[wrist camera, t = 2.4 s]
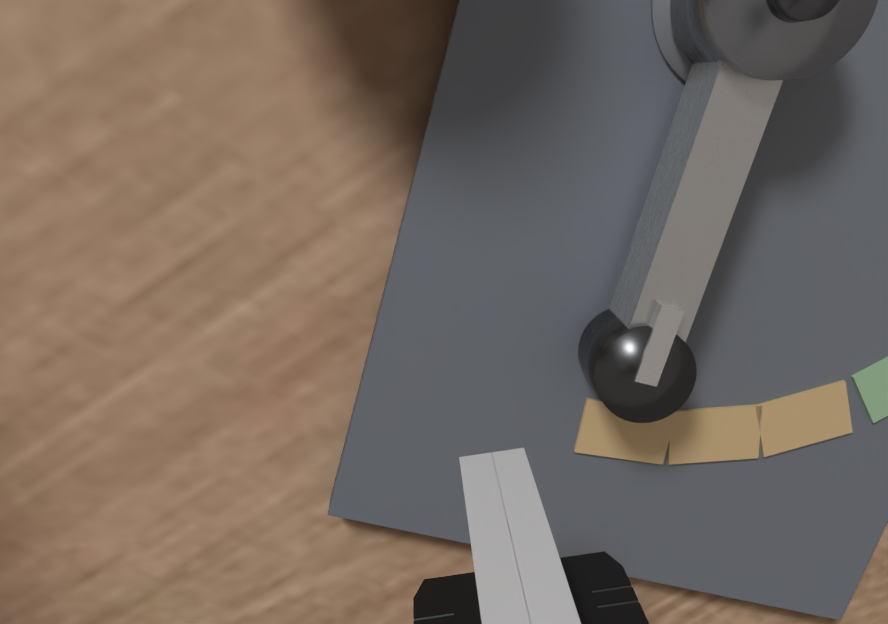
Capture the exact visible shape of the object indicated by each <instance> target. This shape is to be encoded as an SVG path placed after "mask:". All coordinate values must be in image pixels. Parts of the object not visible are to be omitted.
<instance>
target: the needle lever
mask: <svg viewBox="0 0 888 624" xmlns="http://www.w3.org/2000/svg"><path fill="white" fill-rule="evenodd" d="M877 3H878V0H671V1H670V16H671V24H672V28H673V33H674V35H675V38H676V41H677V43H678V45H679V47H680V49H681V51H682V52H683V53H684V55H685V56H686V57H687V59H688V60H689V61H690V62H691V63H692V66H691V69H690V72H689V75H688V78H687V81H686V84H685V87H684V90H683V93H682V96H681V99H680V102H679V104H678V107H677V110H676V113H675V116H674V119H673V122H672V125H671V128H670V131H669V134H668V137H667V140H666V143H665V146H664V149H663V152H662V154H661V157H660V160H659V163H658V166H657V169H656V172H655V175H654V178H653V181H652V184H651V187H650V190H649V193H648V196H647V199H646V202H645V204H644V207H643V210H642V213H641V216H640V219H639V222H638V225H637V228H636V231H635V234H634V237H633V240H632V243H631V246H630V249H629V252H628V254H627V257H626V260H625V263H624V266H623V269H622V272H621V275H620V278H619V281H618V284H617V287H616V290H615V293H614V296H613V299H612V302H611V304H610V307H609V309H607V310H605V311H603V312H602V313H600V314H598V315H597V316H596V317H595V318H593V319H592V320H591V321H590V323H589V324H588V325H587V326H586V328H585V329H584V331H583V333H582V335H581V338H580V341H579V346H578V358H579V363H580V366H581V368H582V371H583V372H584V374H585V375H586V377H587V378H588V380H589V382H590V383H591V385H592V386H593V388H594V389H595V391H596V392H597V394H598V395H599V397H600V398H601V400H602V401H603V403H604V404H605V406H606V407H607V408H608V409H609V411H611V412H612V413H613V414H614V415H616V416H617V417H619V418H621V419H623V420H626V421H629V422H634V423H650V422H655V421H658V420H661V419H664V418H666V417H668V416H670V415H671V414H673V413H674V412H676V411H677V410H678V409H679V408H680V407H681V406H682V405H683V404H684V403H685V402H686V401H687V399H688V398H689V396H690V394H691V393H692V390H693V388H694V385H695V382H696V375H697V368H696V361H695V358H694V355H693V353H692V351H691V349H690V348H689V346H688V345H687V344H686V343H685V342H686V340H687V337H688V334H689V332H690V329H691V326H692V324H693V321H694V318H695V316H696V313H697V310H698V307H699V305H700V302H701V299H702V297H703V294H704V291H705V289H706V286H707V283H708V281H709V278H710V275H711V273H712V270H713V267H714V264H715V262H716V259H717V256H718V254H719V251H720V248H721V246H722V243H723V240H724V238H725V235H726V232H727V230H728V227H729V224H730V222H731V219H732V216H733V213H734V211H735V208H736V205H737V203H738V200H739V197H740V195H741V192H742V189H743V187H744V184H745V181H746V179H747V176H748V173H749V170H750V168H751V165H752V162H753V160H754V157H755V154H756V152H757V149H758V146H759V144H760V141H761V138H762V136H763V133H764V130H765V127H766V125H767V122H768V119H769V117H770V114H771V111H772V109H773V106H774V103H775V101H776V98H777V95H778V93H779V90H780V87H781V85H782V82H783V80H794V79H800V78H805V77H809V76H811V75H814V74H817V73H819V72H821V71H823V70H825V69H827V68H829V67H830V66H832V65H834V64H835V63H837V62H838V61H839V60H840V59H842V58H843V57H844V56H845V55H846V54H847V53H848V52H849V51H850V50H851V49H852V48H853V47H854V46H855V45H856V43H857V42H858V41H859V39H860V38H861V37H862V35H863V34H864V32H865V30H866V29H867V27H868V25H869V23H870V21H871V19H872V17H873V15H874V12H875V9H876V6H877Z"/></svg>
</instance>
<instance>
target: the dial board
mask: <svg viewBox="0 0 888 624" xmlns="http://www.w3.org/2000/svg"><path fill="white" fill-rule="evenodd" d="M670 1H671V0H458V3H457V7H456V11H455V15H454V19H453V23H452V27H451V31H450V35H449V39H448V42H447V46H446V50H445V54H444V58H443V62H442V66H441V70H440V74H439V77H438V81H437V85H436V89H435V93H434V97H433V101H432V105H431V109H430V113H429V116H428V120H427V124H426V128H425V132H424V136H423V140H422V144H421V148H420V152H419V155H418V159H417V163H416V167H415V171H414V175H413V179H412V183H411V187H410V190H409V194H408V198H407V202H406V206H405V210H404V214H403V218H402V222H401V226H400V229H399V233H398V237H397V241H396V245H395V249H394V253H393V257H392V261H391V265H390V268H389V272H388V276H387V280H386V284H385V288H384V292H383V296H382V300H381V304H380V307H379V311H378V315H377V319H376V323H375V327H374V331H373V335H372V339H371V342H370V346H369V350H368V354H367V358H366V362H365V366H364V370H363V374H362V378H361V381H360V385H359V389H358V393H357V397H356V401H355V405H354V409H353V413H352V417H351V420H350V424H349V428H348V432H347V436H346V440H345V444H344V448H343V452H342V455H341V459H340V463H339V467H338V471H337V475H336V479H335V483H334V487H333V491H332V494H331V499H330V505H329V511H328V515H331V516H336V517H341V518H345V519H350V520H355V521H360V522H365V523H370V524H375V525H379V526H384V527H389V528H394V529H399V530H404V531H409V532H413V533H418V534H423V535H428V536H433V537H438V538H443V539H447V540H452V541H457V542H462V543H467V544H471V541H470V534H469V526H468V519H467V512H466V504H465V497H464V489H463V482H462V475H461V467H460V460H459V457H463V456H470V455H477V454H484V453H491V452H498V451H505V450H511V449H518V448H524V450H525V453H526V456H527V459H528V462H529V465H530V468H531V471H532V474H533V477H534V480H535V483H536V486H537V489H538V493H539V496H540V499H541V502H542V505H543V508H544V511H545V514H546V517H547V520H548V523H549V526H550V529H551V533H552V536H553V539H554V542H555V545H556V548H557V551H558V554H559V557H560V558H562V557H569V556H576V555H582V554H589V553H596V552H603V551H605V552H606V553H607V554H609V555H610V556H611V557H612V558H614V559H615V560H616V561H617V562H619V563H620V564H621V565H622V566H623V568H624V570H625V572H626V574H627V577H632V578H637V579H642V580H647V581H651V582H656V583H661V584H666V585H671V586H676V587H681V588H685V589H690V590H695V591H700V592H705V593H710V594H715V595H719V596H724V597H729V598H734V599H739V600H744V601H749V602H753V603H758V604H763V605H768V606H773V607H778V608H783V609H787V610H792V611H797V612H802V613H807V614H812V615H817V616H821V617H826V618H831V619H836V620H841V618H842V616H843V614H844V612H845V610H846V608H847V606H848V604H849V602H850V600H851V597H852V595H853V593H854V591H855V589H856V587H857V585H858V583H859V581H860V579H861V577H862V574H863V572H864V570H865V568H866V566H867V564H868V562H869V560H870V558H871V556H872V554H873V551H874V549H875V547H876V545H877V543H878V541H879V539H880V537H881V535H882V533H883V531H884V528H885V526H886V524H887V522H888V0H878V3H877V6H876V9H875V12H874V15H873V17H872V19H871V21H870V23H869V25H868V27H867V29H866V30H865V32H864V34H863V35H862V37H861V38H860V39H859V41H858V42H857V43H856V45H855V46H854V47H853V48H852V49H851V50H850V51H849V52H848V53H847V54H846V55H845V56H844V57H843V58H842V59H840V60H839V61H838V62H837V63H835V64H834V65H832V66H830V67H829V68H827V69H825V70H823V71H821V72H819V73H817V74H814V75H811V76H809V77H805V78H800V79H794V80H783V82H782V85H781V87H780V90H779V93H778V95H777V98H776V101H775V103H774V106H773V109H772V111H771V114H770V117H769V119H768V122H767V125H766V127H765V130H764V133H763V136H762V138H761V141H760V144H759V146H758V149H757V152H756V154H755V157H754V160H753V162H752V165H751V168H750V170H749V173H748V176H747V179H746V181H745V184H744V187H743V189H742V192H741V195H740V197H739V200H738V203H737V205H736V208H735V211H734V213H733V216H732V219H731V222H730V224H729V227H728V230H727V232H726V235H725V238H724V240H723V243H722V246H721V248H720V251H719V254H718V256H717V259H716V262H715V264H714V267H713V270H712V273H711V275H710V278H709V281H708V283H707V286H706V289H705V291H704V294H703V297H702V299H701V302H700V305H699V307H698V310H697V313H696V316H695V318H694V321H693V324H692V326H691V329H690V332H689V334H688V337H687V340H686V342H685V343H686V344H687V345H688V346H689V348H690V349H691V351H692V353H693V355H694V358H695V361H696V368H697V375H696V382H695V385H694V388H693V390H692V393H691V394H690V396H689V398H688V399H687V401H686V402H685V403H684V404H683V405H682V406H681V407H680V408H679V409H678V410H677V411H676V412H674V413H673V414H671V415H670V416H668V417H666V418H664V419H661V420H658V421H655V422H650V423H634V422H629V421H626V420H623V419H621V418H619V417H617V416H616V415H614V414H613V413H612V412H611V411H609V409H608V408H607V407H606V406H605V404H604V403H603V401H602V400H601V398H600V397H599V395H598V394H597V392H596V391H595V389H594V388H593V386H592V385H591V383H590V382H589V380H588V378H587V377H586V375H585V374H584V372H583V371H582V368H581V366H580V363H579V358H578V346H579V341H580V338H581V335H582V333H583V331H584V329H585V328H586V326H587V325H588V324H589V323H590V321H591V320H592V319H593V318H595V317H596V316H597V315H598V314H600V313H602V312H603V311H605V310H607V309H609V307H610V304H611V302H612V299H613V296H614V293H615V290H616V287H617V284H618V281H619V278H620V275H621V272H622V269H623V266H624V263H625V260H626V257H627V254H628V252H629V249H630V246H631V243H632V240H633V237H634V234H635V231H636V228H637V225H638V222H639V219H640V216H641V213H642V210H643V207H644V204H645V202H646V199H647V196H648V193H649V190H650V187H651V184H652V181H653V178H654V175H655V172H656V169H657V166H658V163H659V160H660V157H661V154H662V152H663V149H664V146H665V143H666V140H667V137H668V134H669V131H670V128H671V125H672V122H673V119H674V116H675V113H676V110H677V107H678V104H679V102H680V99H681V96H682V93H683V90H684V87H685V84H686V81H687V78H688V75H689V72H690V69H691V66H692V63H691V62H690V61H689V60H688V59H687V57H686V56H685V55H684V53H683V52H682V51H681V49H680V47H679V45H678V43H677V41H676V38H675V35H674V33H673V28H672V24H671V16H670Z"/></svg>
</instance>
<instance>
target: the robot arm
mask: <svg viewBox="0 0 888 624" xmlns="http://www.w3.org/2000/svg"><path fill="white" fill-rule="evenodd" d="M459 460H460V467H461V475H462V482H463V489H464V497H465V504H466V512H467V519H468V526H469V534H470V541H471V548H472V556H473V563H474V570H475V572H472V573H465V574H458V575H452V576H445V577H438V578H431V579H424V581H423V582H422V584H421V586H420V588H419V589H418V591H417V593H416V595H415V596H414V624H649V623H648V621H647V618H646V616H645V614H644V612H643V610H642V607H641V605H640V603H638V599H637V596H636V594H635V592H634V590H633V588H632V587H631V583H630V581H629V579H628V577H627V574H626V572H625V570H624V568H623V566H622V565H621V564H620V563H619V562H617V561H616V560H615V559H614V558H612V557H611V556H610V555H609V554H607V553H606V552H605V551H603V552H596V553H589V554H582V555H576V556H569V557H562V558H560V557H559V554H558V551H557V548H556V545H555V542H554V539H553V536H552V533H551V529H550V526H549V523H548V520H547V517H546V514H545V511H544V508H543V505H542V502H541V499H540V496H539V493H538V489H537V486H536V483H535V480H534V477H533V474H532V471H531V468H530V465H529V462H528V459H527V456H526V453H525V450H524V448H518V449H511V450H505V451H498V452H491V453H484V454H477V455H470V456H463V457H459Z"/></svg>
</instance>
